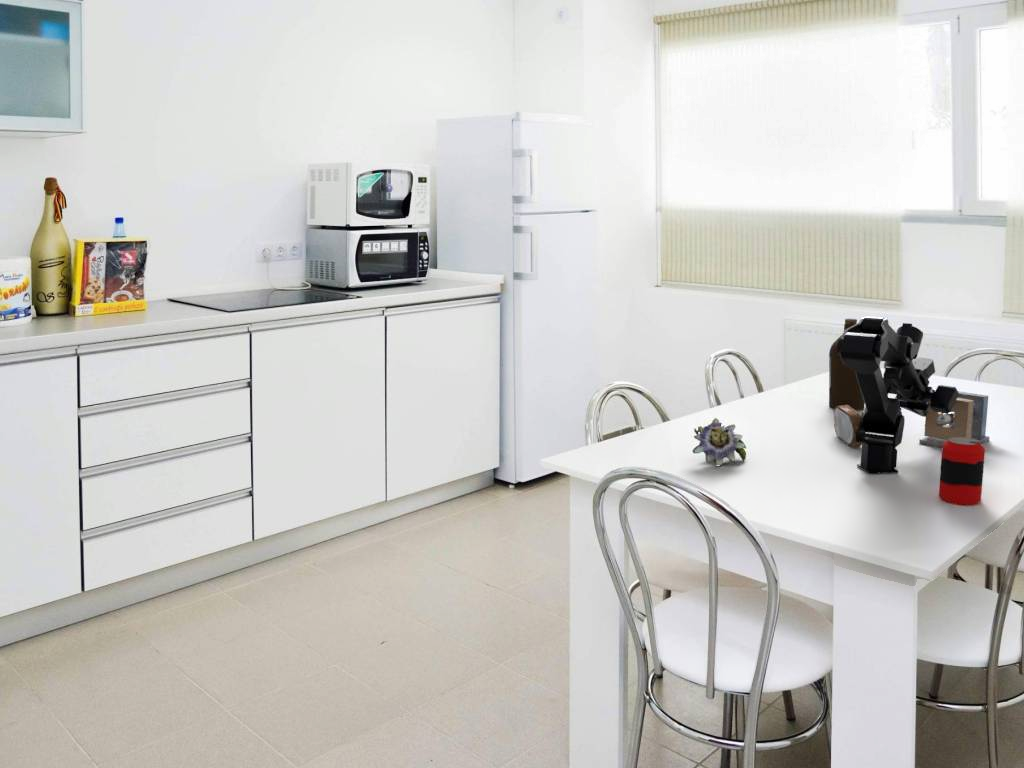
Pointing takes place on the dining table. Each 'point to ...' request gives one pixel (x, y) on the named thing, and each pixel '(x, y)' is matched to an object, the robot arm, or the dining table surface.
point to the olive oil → (843, 379)
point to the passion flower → (719, 442)
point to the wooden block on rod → (961, 421)
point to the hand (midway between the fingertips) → (924, 415)
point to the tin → (846, 424)
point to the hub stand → (977, 420)
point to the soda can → (961, 471)
